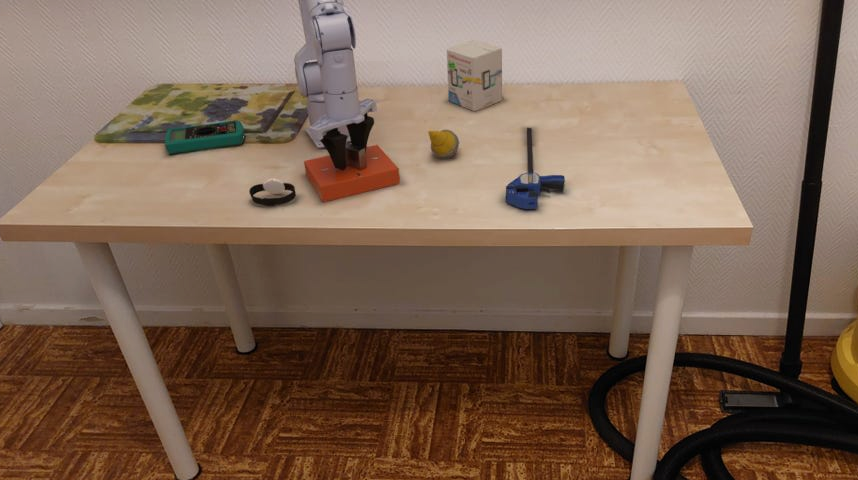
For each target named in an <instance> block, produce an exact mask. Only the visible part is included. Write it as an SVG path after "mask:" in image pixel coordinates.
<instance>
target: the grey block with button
mask: <svg viewBox="0 0 858 480" xmlns="http://www.w3.org/2000/svg"><path fill="white" fill-rule="evenodd" d="M345 155H346V166H349V167H353V168H356V169H359V170H362V169H364V168H366V167H367V162H366V154H365V148H362V147H359V146H356V145H352V144H351V143H350V142H347V143H346V147H345Z"/></svg>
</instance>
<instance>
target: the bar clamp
mask: <svg viewBox="0 0 858 480" xmlns="http://www.w3.org/2000/svg"><path fill="white" fill-rule="evenodd" d="M532 132H533V130H532V127H526V140H527V141H526V145H527V146H526V147H527V172H524V173H521V174H520V175H518V176H517V177H516V178H514V179H513V180H512V181H510V182H509V183H508V184H507V185H506V186H505V202H506V203H507V204H509V205H511V206H514V207H517V208H520V209H523V210H536V209H537V208H538V207H539V205H538V204H539V196H540V194H541V192H545V193H550V192H551V190H554V191H561V192H564V191H565V182H566V180H565V179H566V178H565V175H562V174H550V175H539V173H538V172H534V158H533V157H534V155H533V133H532Z"/></svg>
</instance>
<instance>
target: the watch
mask: <svg viewBox="0 0 858 480" xmlns="http://www.w3.org/2000/svg"><path fill="white" fill-rule="evenodd" d="M248 191H249V195H250V198H251V200H252V202H253V203H255V204H257V205H260V206H265V207H275V206H280V205H284V204H288V203H290V202H292V201H293V200H295V199H296V196H297V193H296V188H295V185H293V184H292V183H288V182H283V181H281V180H279V179H277V178H273V177H271V178H269V179H267V180H266V181H265V182H264V183H259V184H255V185H252V186H251V187H250V188H249V190H248ZM285 191H291V192H290V193H288V194H287V195H284V196H280V197H263V198H262V197H261V198H260V197H257V196H255V195H256V194H258V193H260V192H268V193H269V194H272V195H279V194H282V193H283V192H285Z"/></svg>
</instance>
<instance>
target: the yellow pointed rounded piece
mask: <svg viewBox="0 0 858 480" xmlns="http://www.w3.org/2000/svg"><path fill="white" fill-rule="evenodd" d="M427 132H428V136H429V140H430V150H431V152H432V154H433V155H434V156H436V157H437V158H439V159H441V160H445V159H447V160H448V159H449V158H451V157H453V156H454V155H455V154H456V153H457V151H458V149H459V146H460V140H459V137H458V136H457V134H456V133H455V132H454V131H453V130H450V129H442V130H428V131H427Z"/></svg>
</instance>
